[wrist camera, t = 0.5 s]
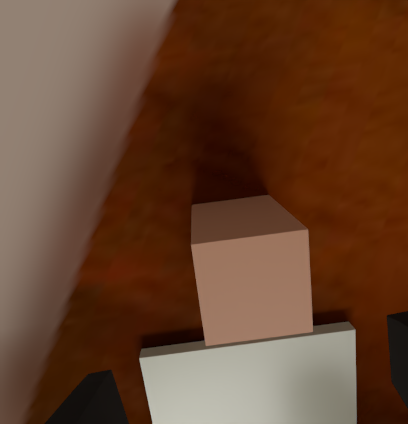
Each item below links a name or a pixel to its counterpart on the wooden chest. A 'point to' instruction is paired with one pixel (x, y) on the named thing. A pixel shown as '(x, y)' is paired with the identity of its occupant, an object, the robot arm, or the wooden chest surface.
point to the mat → (255, 380)
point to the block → (250, 270)
